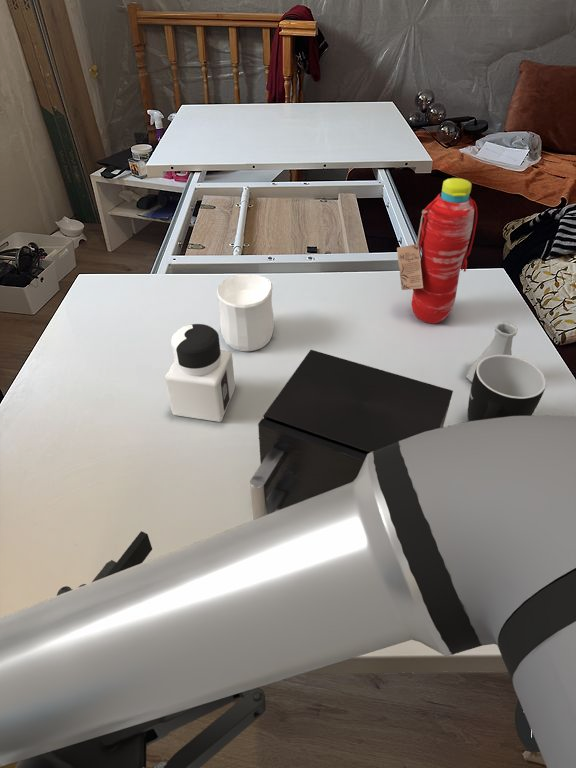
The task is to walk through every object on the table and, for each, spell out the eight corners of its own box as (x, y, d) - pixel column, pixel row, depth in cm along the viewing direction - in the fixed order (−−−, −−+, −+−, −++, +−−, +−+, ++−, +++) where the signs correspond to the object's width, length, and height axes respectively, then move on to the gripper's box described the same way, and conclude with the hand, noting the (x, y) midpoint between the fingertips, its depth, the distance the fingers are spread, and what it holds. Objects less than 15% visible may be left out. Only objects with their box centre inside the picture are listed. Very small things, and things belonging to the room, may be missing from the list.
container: (235, 388, 84) (229, 321, 75) (221, 423, 78) (212, 354, 70) (189, 382, 85) (177, 314, 76) (171, 415, 80) (157, 347, 71)
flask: (457, 378, 86) (471, 327, 79) (482, 358, 89) (497, 308, 83) (497, 400, 82) (516, 349, 75) (522, 379, 85) (541, 328, 79)
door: (384, 603, 58) (403, 527, 48) (240, 540, 64) (230, 461, 54) (402, 552, 62) (423, 473, 53) (266, 497, 68) (262, 417, 58)
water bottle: (392, 328, 96) (414, 191, 79) (386, 303, 102) (405, 171, 85) (459, 328, 96) (495, 191, 79) (449, 303, 102) (481, 171, 85)
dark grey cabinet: (402, 551, 63) (423, 470, 53) (267, 497, 69) (263, 415, 59) (430, 472, 71) (453, 390, 61) (308, 430, 77) (310, 349, 67)
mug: (473, 397, 82) (490, 346, 75) (532, 422, 78) (555, 370, 71) (441, 445, 75) (456, 393, 68) (504, 475, 71) (526, 422, 64)
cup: (265, 315, 99) (263, 268, 92) (283, 346, 92) (283, 298, 86) (215, 325, 97) (209, 278, 90) (230, 358, 90) (225, 310, 83)
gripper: (-69, 755, 42) (109, 539, 56) (201, 957, 34) (328, 644, 48) (-118, 725, 37) (91, 496, 51) (186, 954, 29) (333, 606, 43)
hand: (206, 567), depth 49 cm, fingers open, 13 cm apart
